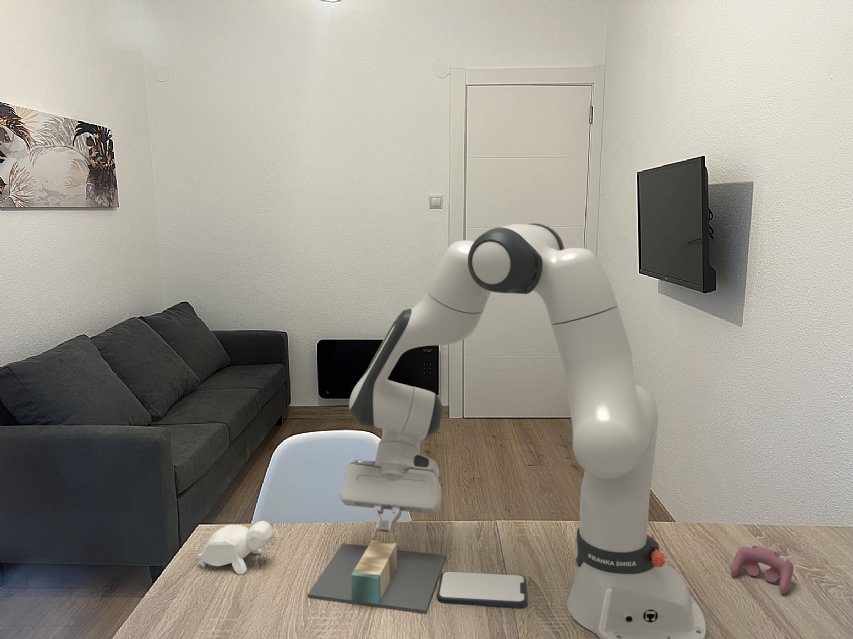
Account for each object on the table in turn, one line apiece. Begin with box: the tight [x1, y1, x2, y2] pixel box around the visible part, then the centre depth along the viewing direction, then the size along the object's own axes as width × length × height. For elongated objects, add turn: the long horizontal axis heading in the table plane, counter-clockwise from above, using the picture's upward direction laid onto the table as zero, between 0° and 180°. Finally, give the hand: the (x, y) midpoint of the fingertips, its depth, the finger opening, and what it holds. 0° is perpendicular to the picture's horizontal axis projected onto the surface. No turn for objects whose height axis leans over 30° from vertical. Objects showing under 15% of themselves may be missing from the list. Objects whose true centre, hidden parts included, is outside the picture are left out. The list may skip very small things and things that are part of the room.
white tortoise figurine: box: [197, 520, 275, 576], centre depth 126 cm, size 9×8×15 cm
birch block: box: [351, 539, 398, 604], centre depth 117 cm, size 5×5×12 cm
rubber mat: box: [307, 542, 447, 614], centre depth 121 cm, size 22×18×1 cm
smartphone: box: [436, 570, 528, 610], centre depth 116 cm, size 9×2×16 cm
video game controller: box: [730, 544, 794, 595], centre depth 118 cm, size 10×5×7 cm, turn 48°
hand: (383, 531), depth 122 cm, fingers closed
